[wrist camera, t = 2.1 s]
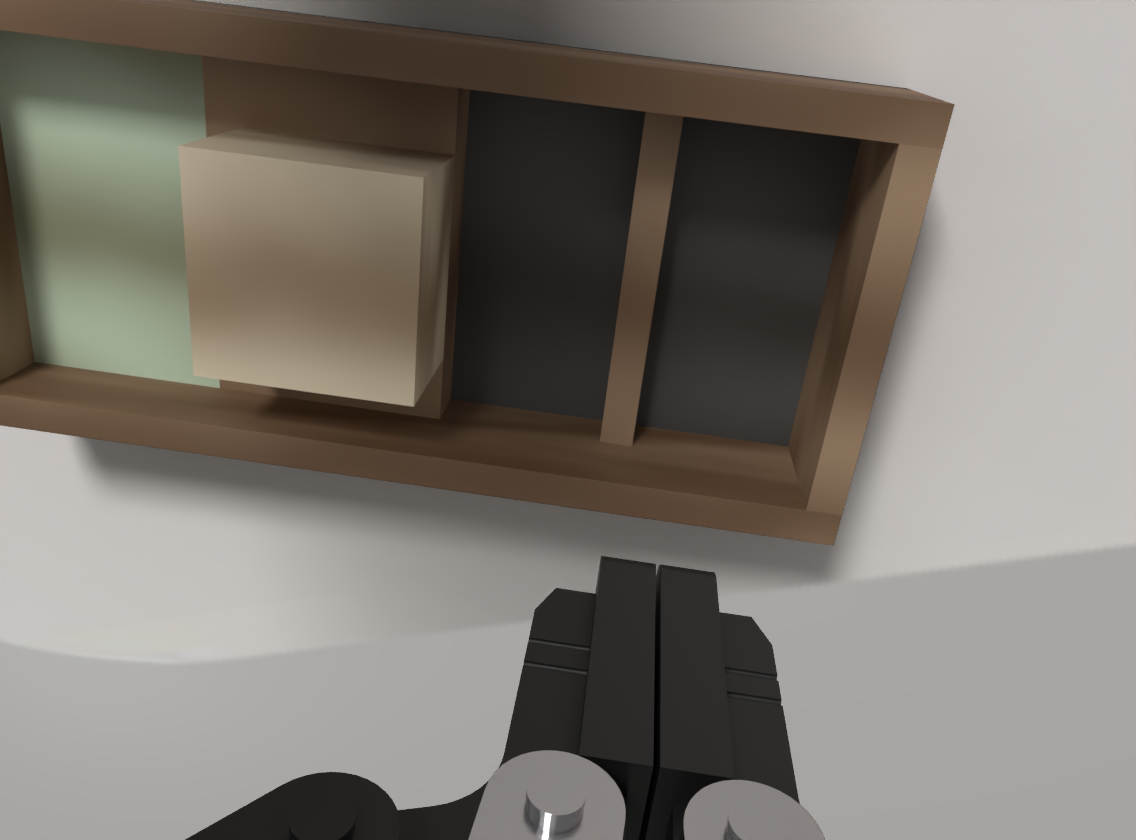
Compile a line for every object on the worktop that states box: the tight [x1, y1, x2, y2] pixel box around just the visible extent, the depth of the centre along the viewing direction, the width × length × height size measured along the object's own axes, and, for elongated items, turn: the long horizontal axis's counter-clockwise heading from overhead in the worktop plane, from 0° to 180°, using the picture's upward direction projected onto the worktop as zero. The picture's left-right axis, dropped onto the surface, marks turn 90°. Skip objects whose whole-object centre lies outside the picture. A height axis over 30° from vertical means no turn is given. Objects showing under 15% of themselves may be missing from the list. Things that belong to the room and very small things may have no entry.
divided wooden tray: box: [0, 0, 954, 546], centre depth 26 cm, size 12×26×4 cm, turn 84°
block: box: [178, 128, 455, 407], centre depth 25 cm, size 6×6×4 cm
